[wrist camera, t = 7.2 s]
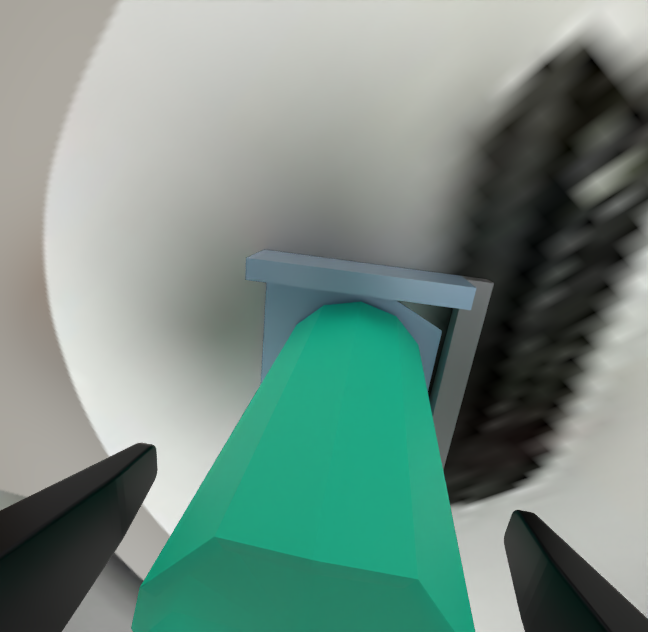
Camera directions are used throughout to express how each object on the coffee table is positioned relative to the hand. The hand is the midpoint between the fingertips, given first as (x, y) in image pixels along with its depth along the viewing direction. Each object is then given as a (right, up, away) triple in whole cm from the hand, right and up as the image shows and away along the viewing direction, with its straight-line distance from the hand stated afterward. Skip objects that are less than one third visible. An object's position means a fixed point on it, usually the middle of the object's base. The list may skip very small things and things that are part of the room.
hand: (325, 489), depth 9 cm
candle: (+1, +2, +7) cm, 7 cm away
